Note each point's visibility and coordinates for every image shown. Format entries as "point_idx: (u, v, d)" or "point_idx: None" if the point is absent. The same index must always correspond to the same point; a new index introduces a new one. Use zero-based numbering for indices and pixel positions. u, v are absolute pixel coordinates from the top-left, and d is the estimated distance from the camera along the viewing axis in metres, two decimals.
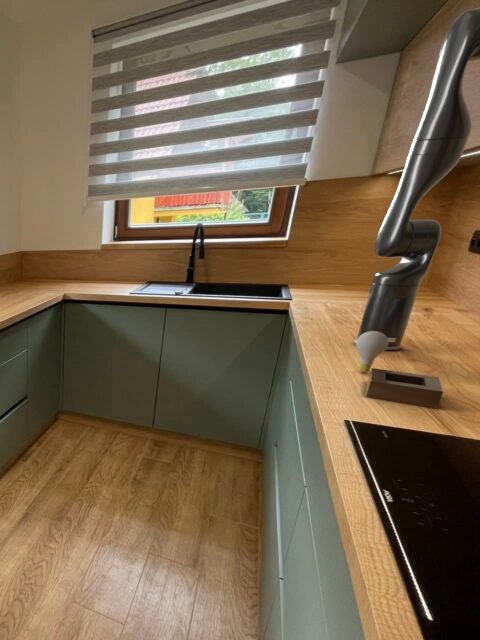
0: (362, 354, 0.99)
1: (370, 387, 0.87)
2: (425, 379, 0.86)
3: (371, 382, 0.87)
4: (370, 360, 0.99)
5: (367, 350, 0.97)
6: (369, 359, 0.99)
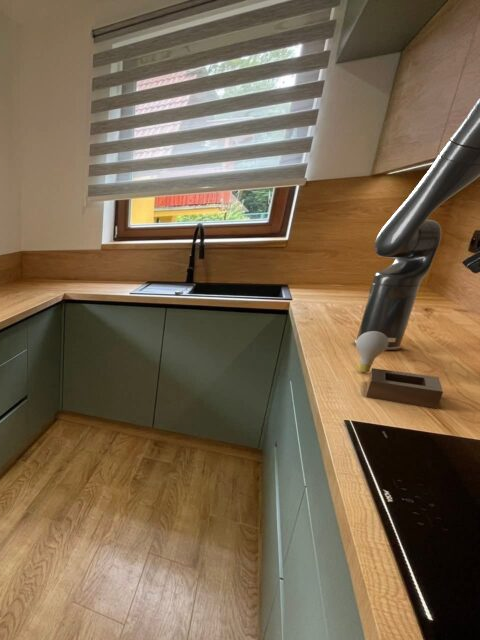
0: (362, 354, 0.99)
1: (370, 387, 0.87)
2: (425, 379, 0.86)
3: (371, 382, 0.87)
4: (370, 360, 0.99)
5: (367, 350, 0.97)
6: (369, 359, 0.99)
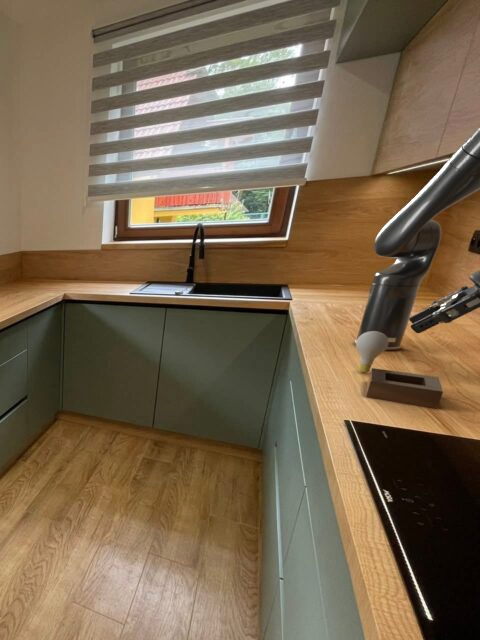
0: (362, 354, 0.99)
1: (370, 387, 0.87)
2: (425, 379, 0.86)
3: (371, 382, 0.87)
4: (370, 360, 0.99)
5: (367, 350, 0.97)
6: (369, 359, 0.99)
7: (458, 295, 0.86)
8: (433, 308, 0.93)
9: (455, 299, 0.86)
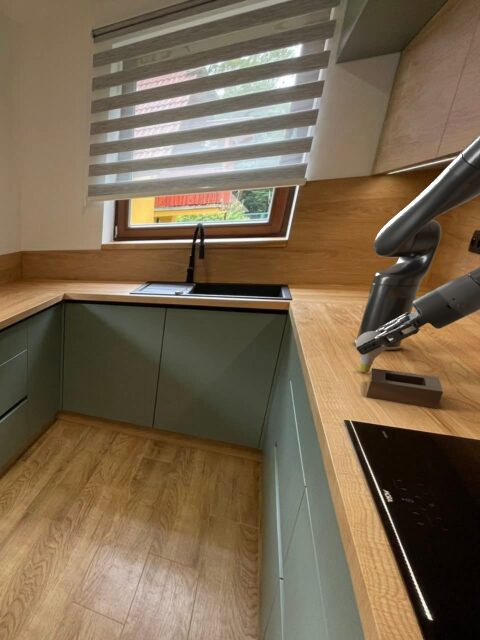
0: None
1: (370, 387, 0.87)
2: (425, 379, 0.86)
3: (371, 382, 0.87)
4: (370, 360, 0.99)
5: None
6: (369, 359, 0.99)
7: (400, 320, 0.93)
8: None
9: (397, 324, 0.93)
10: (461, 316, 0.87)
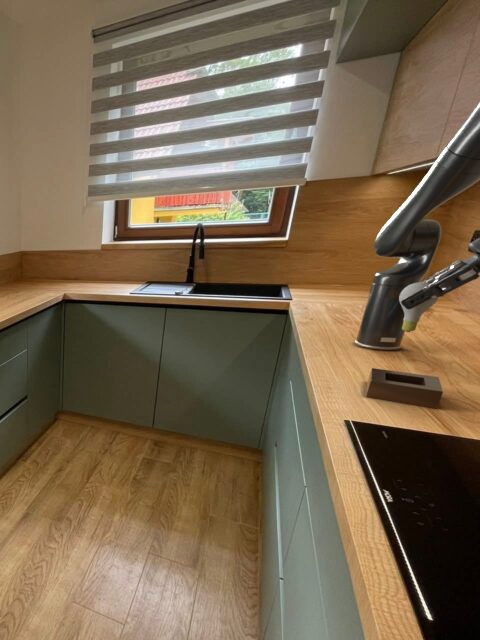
0: (407, 310, 0.86)
1: (370, 387, 0.87)
2: (425, 379, 0.86)
3: (371, 382, 0.87)
4: (416, 316, 0.85)
5: None
6: (415, 315, 0.85)
7: (455, 266, 0.79)
8: None
9: (451, 271, 0.80)
10: None
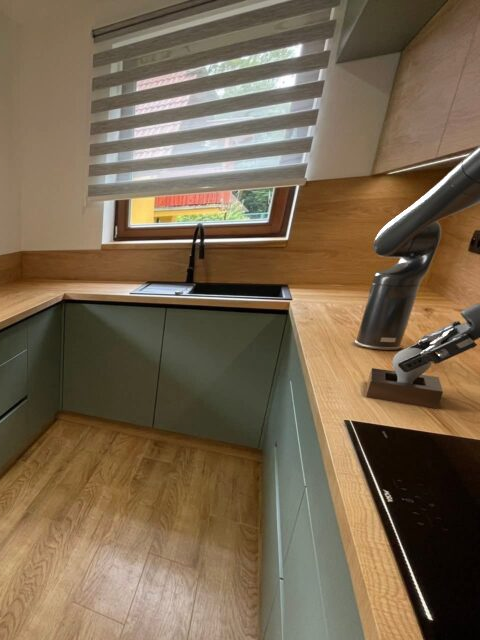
0: (400, 374, 0.86)
1: (370, 387, 0.87)
2: (425, 379, 0.86)
3: (371, 382, 0.87)
4: (409, 381, 0.86)
5: None
6: (408, 380, 0.86)
7: (449, 333, 0.80)
8: (423, 343, 0.87)
9: (445, 337, 0.80)
10: None
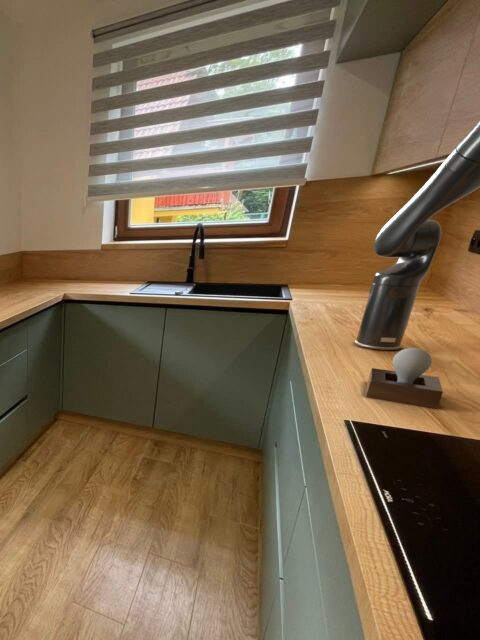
0: (400, 374, 0.86)
1: (370, 387, 0.87)
2: (425, 379, 0.86)
3: (371, 382, 0.87)
4: (409, 381, 0.86)
5: (407, 370, 0.85)
6: (408, 380, 0.86)
7: None
8: None
9: None
10: None
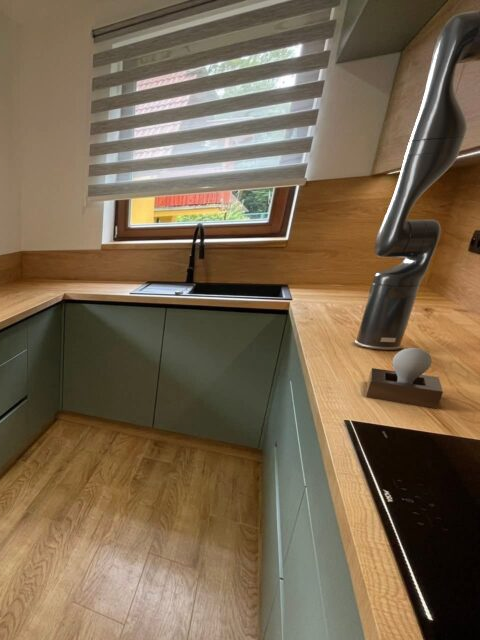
0: (400, 374, 0.86)
1: (370, 387, 0.87)
2: (425, 379, 0.86)
3: (371, 382, 0.87)
4: (409, 381, 0.86)
5: (407, 370, 0.85)
6: (408, 380, 0.86)
7: None
8: None
9: None
10: None
